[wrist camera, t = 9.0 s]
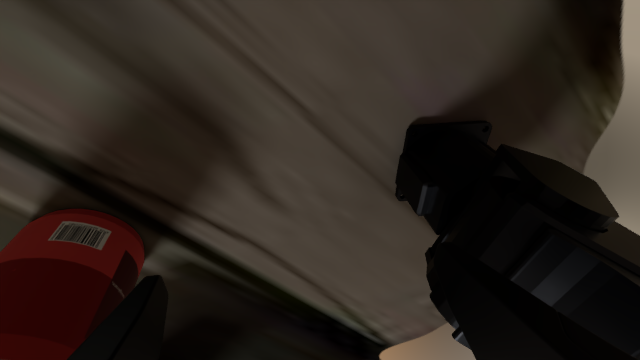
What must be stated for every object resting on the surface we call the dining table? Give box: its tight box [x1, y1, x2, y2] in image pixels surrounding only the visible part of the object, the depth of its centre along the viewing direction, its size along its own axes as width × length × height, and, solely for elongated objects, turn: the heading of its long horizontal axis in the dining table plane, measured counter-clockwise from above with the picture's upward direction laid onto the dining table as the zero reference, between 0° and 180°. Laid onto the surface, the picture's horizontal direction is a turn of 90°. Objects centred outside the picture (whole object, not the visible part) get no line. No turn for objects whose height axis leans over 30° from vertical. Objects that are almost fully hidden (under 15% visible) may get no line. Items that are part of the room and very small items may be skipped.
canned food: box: [0, 209, 144, 360], centre depth 19 cm, size 8×8×11 cm
